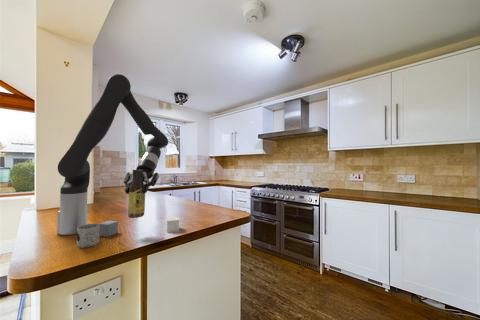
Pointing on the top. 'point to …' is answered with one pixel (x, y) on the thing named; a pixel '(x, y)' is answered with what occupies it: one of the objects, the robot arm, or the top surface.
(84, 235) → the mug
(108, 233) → the slate block
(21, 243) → the top surface
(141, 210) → the sauce bottle
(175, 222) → the off-white block
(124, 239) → the top surface
